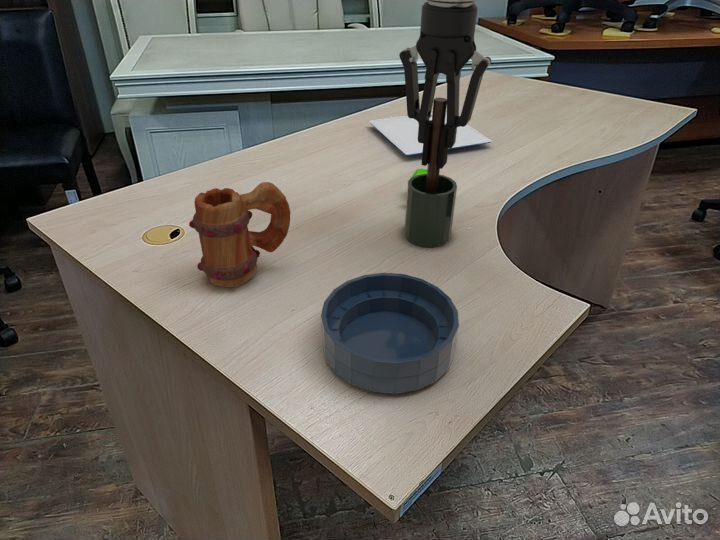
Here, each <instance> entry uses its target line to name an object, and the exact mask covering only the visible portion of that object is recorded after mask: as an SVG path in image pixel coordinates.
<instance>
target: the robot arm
mask: <svg viewBox="0 0 720 540" xmlns="http://www.w3.org/2000/svg"><path fill="white" fill-rule="evenodd" d="M477 1H478V0H426V1H425V2H424V3H423V4H422V5H421V14H420V15H421V16H420V27H419V36H418V39H417V40H416V43H415V45H413V46H411V47H406V48H404V49H403V50H402V51H400V52H399V55H398V56H399V59H400V61H401V64H402V67H403V71H404V72H403V73H404V84H405V87H404V88H405V101H406V116H407V115H408V117H409V118H411V119H412V118H413V119H415V120H417V121H418V123H419V128H418V142H419V143H423V152H422V154H421V166H424V167H426V166H428V157H429V146H430V136H431V125H432V120H430V121H429V118H430V117H431V116H432V115H431V112H433V103H434V99H435V95H436V90H437V84H438V80H439V76H440V74H442V75H445V82H446V99H447V107H446V111H447V123H446V124H445V125H444V126H443V127H442V128H441V137H440V147H439V157H438V166H437V168H439V169H440V170H443V168H444V167H445V165H446V164H447V163H448V154H449V150H448V148H452V147H453V145H454V144H455V141H456V133H457V127H460V126H461V127H464V126H466V125H468V123H469V122H470V121H471V120H472V116H473V112H474V110H475V109H474V108H475V106H476V105H475V104H476V102H477V98H478V95H479V92H480V86H481V84H482V81H483V77H484V74H485V72H486V71H487V70H488V68H489V66H490V65H491V63H492V58H491V57H490V56H484V55H482V54H481V53H480V52H478V51H477V45H476V43H475V32H476V25H477V17H478V10H479V9H478V6H477V4H476V3H475V2H477ZM419 57H420V59H421V60H422V62H423V65H424V67H425V73H424V83H423V84H424V86H423V89H422V90H423V91H422V95H421V102H420V89H419V72H418V70H419V69H418V62H417V61H418V60H419ZM470 60H471V62H472V63H471V65H470V66H471V68H470V69H471V70H472V71H473V72H472V74H471V77H470V80H469V83H468V86H467V90H466V94H465V98H464V101H463V104H462V109H461V113H460V86H461V85H460V80H461V74H462V70H463V68H464V67H465V66H466V65H467V64H468V62H469V61H470Z"/></svg>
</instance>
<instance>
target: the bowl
mask: <svg viewBox="0 0 720 540" xmlns="http://www.w3.org/2000/svg"><path fill="white" fill-rule="evenodd" d="M459 322H460V321H459V310H458V309H457V307H456V305H455V304H454V302H453V300H452V298H451V297H450V296H449V295H448V294H447V293H445V292H444V291H443V290H442V289H441V288H439V287H438V286H437V285H435V284H433V283H431V282H430V281H427V280H425V279H423V278H420V277H416V276H412V275H408V274H405V273H395V272H378V273H370V274H362V275H361V276H358V277H354V278H351V279H348V280H346V281H345V282H343V283H341V284H340V285H339V286H337V287H336V288H334V289H333V290H332V291H331V293H330V294H329V295H328V296H327V297H326V299H325V300H324V301H323V305H322V308H321V313H320V326H321V346H322V352H323V356H324V358H325V361H326V362H327V363H328V365H329V366H330V368H331V369H332V371H333V372H334V373H335V374H336V375H337V376H339V377H340V378H341V379H342V380H344V381H346V382H347V383H348V384H350V385H352V386H354V387H357V388H361V389H363V390H366V391H369V392H373V393H382V394H391V395H392V394H393V395H395V394H403V393H408V392H409V393H410V392H415V391H419V390H421V389H423V388H426V387H428V386H430V385H431V384H434V383H436V382H437V381H438V380H439V379H440V378H441V377H442V376H443V375H444V374H445V373H446V372H448V370H449V368H450V366H451V364H452V361H453V359H454V357H455V353H456V345H457V340H458V334H459V327H460V323H459Z"/></svg>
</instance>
